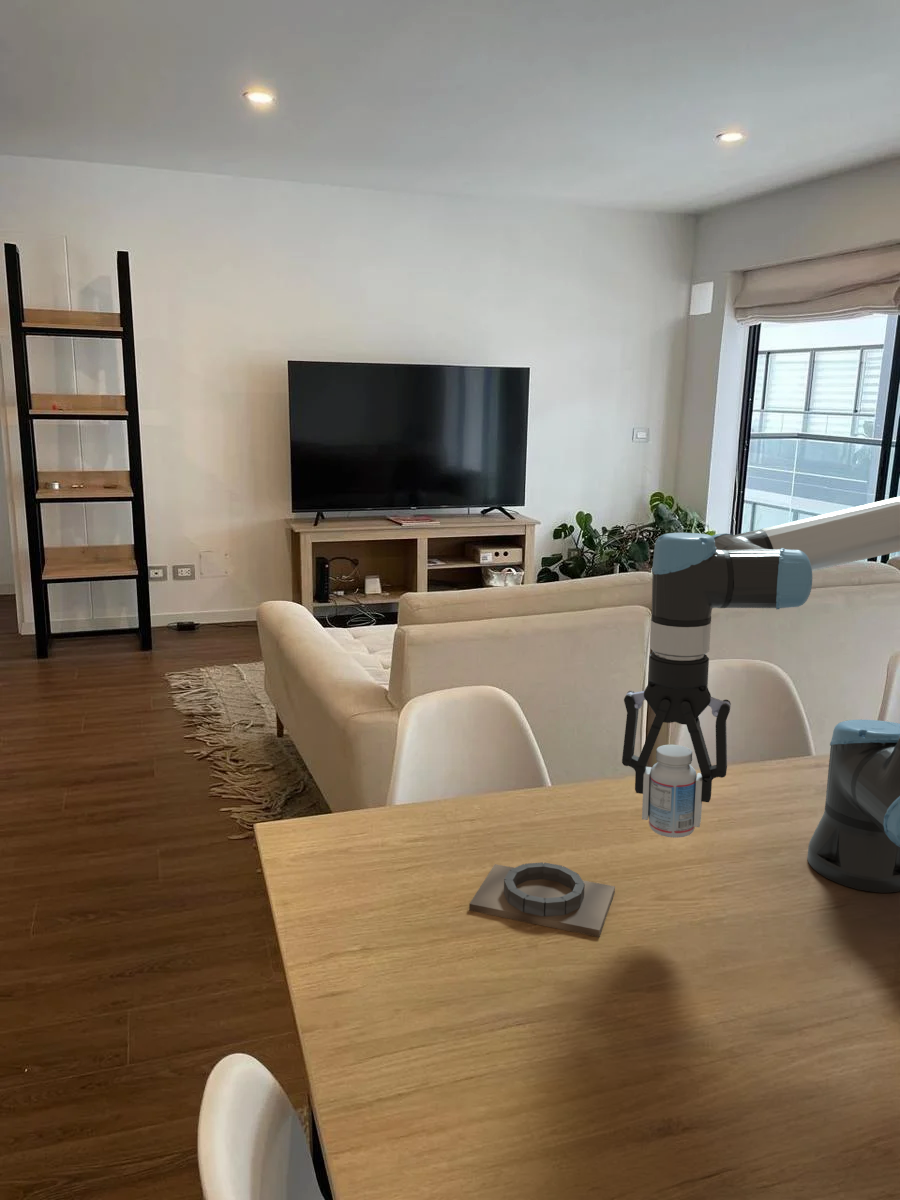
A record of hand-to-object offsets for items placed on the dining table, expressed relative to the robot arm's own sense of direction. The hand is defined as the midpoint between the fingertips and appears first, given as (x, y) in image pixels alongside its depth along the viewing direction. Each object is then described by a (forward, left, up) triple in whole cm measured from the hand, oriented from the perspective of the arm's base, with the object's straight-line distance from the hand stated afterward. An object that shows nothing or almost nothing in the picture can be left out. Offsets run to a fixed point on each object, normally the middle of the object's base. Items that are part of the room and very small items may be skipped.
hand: (671, 818), depth 119 cm
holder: (+16, +3, -14) cm, 22 cm away
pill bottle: (0, 0, -2) cm, 2 cm away
